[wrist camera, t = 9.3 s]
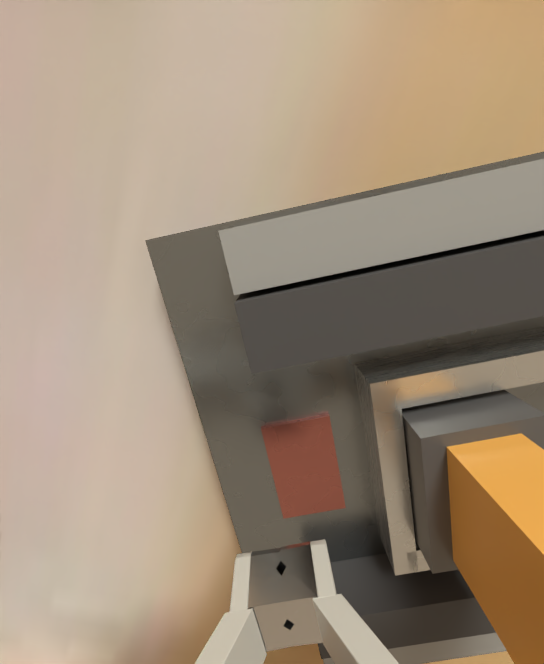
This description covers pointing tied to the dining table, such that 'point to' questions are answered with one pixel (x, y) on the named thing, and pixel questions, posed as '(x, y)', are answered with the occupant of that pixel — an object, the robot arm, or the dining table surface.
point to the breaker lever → (484, 506)
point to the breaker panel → (325, 405)
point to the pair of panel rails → (395, 337)
